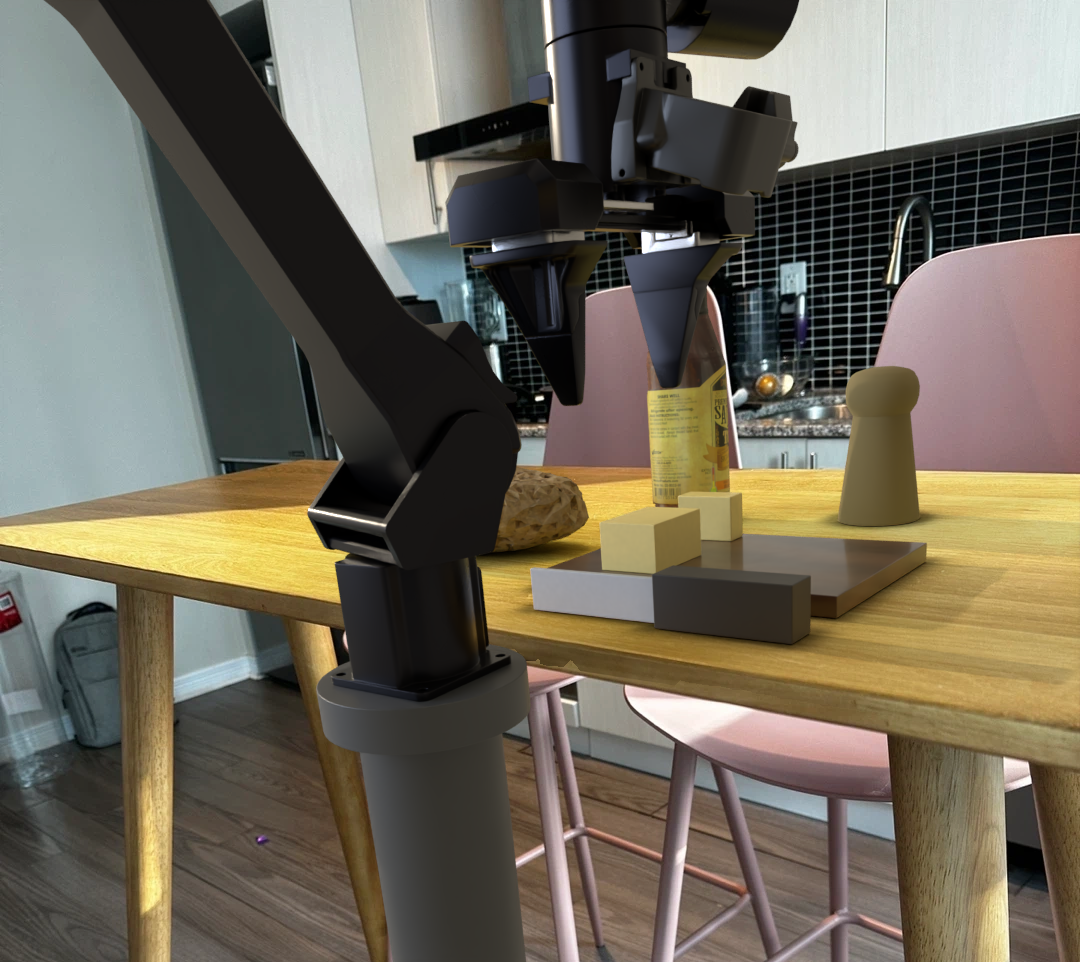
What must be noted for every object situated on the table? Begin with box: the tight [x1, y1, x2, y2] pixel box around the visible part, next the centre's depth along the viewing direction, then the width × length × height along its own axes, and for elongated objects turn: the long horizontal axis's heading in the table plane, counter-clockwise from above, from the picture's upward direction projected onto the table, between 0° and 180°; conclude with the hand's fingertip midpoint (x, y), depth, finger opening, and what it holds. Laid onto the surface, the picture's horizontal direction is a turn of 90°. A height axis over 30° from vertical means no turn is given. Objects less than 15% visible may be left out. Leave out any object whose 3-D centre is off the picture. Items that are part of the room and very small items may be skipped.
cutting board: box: [547, 533, 928, 619], centre depth 65 cm, size 14×20×1 cm
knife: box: [529, 565, 812, 645], centre depth 56 cm, size 2×17×3 cm, turn 52°
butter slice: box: [678, 491, 744, 541], centre depth 70 cm, size 2×4×3 cm, turn 54°
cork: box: [837, 365, 921, 527], centre depth 77 cm, size 6×6×11 cm
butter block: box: [598, 506, 701, 574], centre depth 65 cm, size 6×4×3 cm
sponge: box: [492, 466, 590, 553], centre depth 80 cm, size 13×8×20 cm
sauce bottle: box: [645, 288, 731, 508], centre depth 80 cm, size 6×6×20 cm
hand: (624, 396), depth 53 cm, fingers open, 9 cm apart
